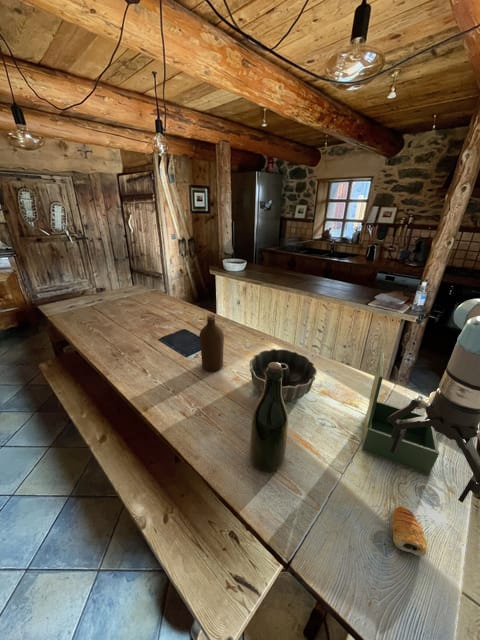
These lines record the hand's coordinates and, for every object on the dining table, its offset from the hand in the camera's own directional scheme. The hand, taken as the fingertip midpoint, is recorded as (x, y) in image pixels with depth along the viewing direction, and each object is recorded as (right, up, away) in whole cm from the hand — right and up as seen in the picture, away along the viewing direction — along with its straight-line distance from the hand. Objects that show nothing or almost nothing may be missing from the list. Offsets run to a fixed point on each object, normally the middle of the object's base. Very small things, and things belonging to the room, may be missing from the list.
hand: (425, 471), depth 59 cm
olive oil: (-53, +13, +62) cm, 83 cm away
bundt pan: (-24, +6, +50) cm, 56 cm away
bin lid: (0, +13, +21) cm, 25 cm away
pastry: (-3, -16, +3) cm, 17 cm away
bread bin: (+8, -6, +25) cm, 27 cm away
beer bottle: (-33, -8, +21) cm, 40 cm away
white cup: (+27, -2, +34) cm, 43 cm away
